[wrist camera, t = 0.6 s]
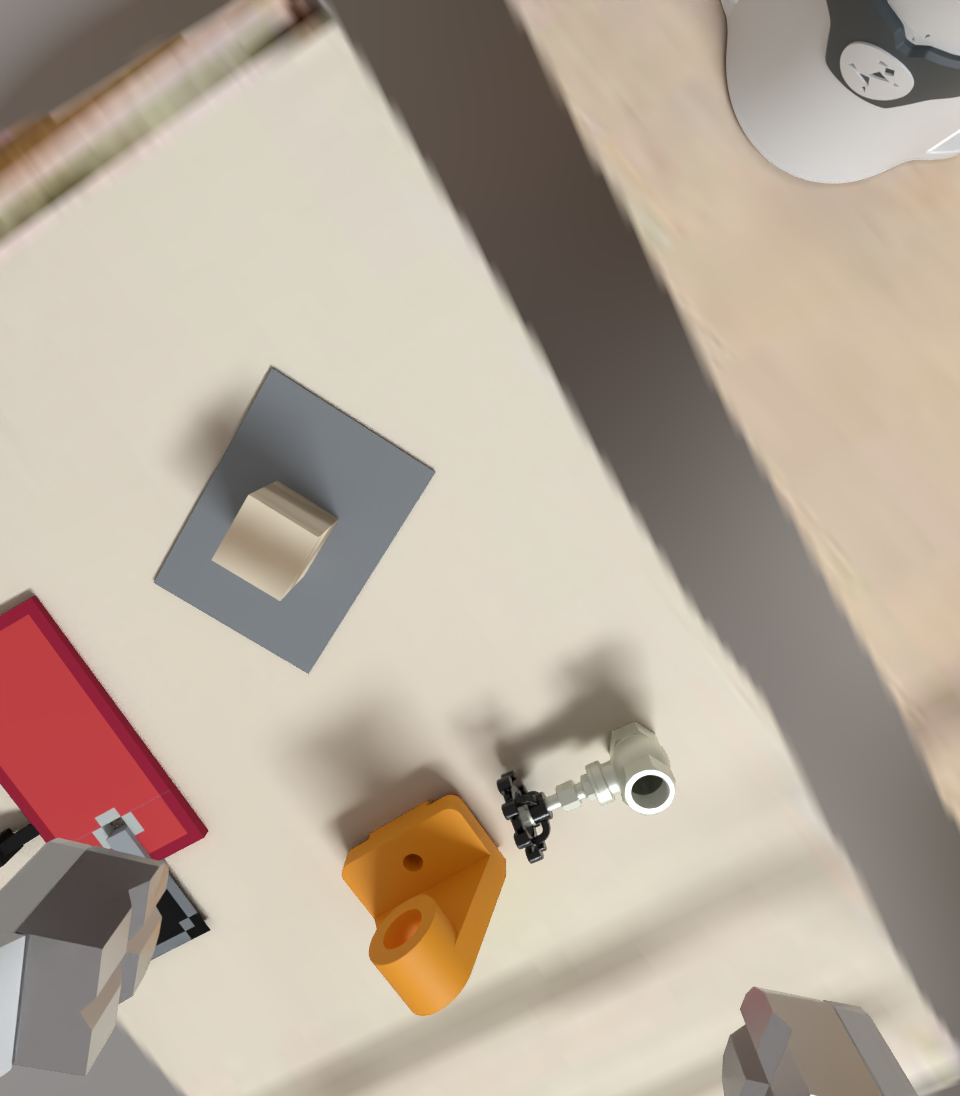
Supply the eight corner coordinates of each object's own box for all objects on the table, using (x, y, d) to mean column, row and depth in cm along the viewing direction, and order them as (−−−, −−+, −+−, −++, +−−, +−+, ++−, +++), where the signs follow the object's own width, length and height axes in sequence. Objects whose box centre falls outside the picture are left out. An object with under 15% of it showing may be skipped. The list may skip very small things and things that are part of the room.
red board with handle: (114, 972, 61) (261, 898, 59) (96, 1000, 58) (250, 922, 56) (-113, 683, 56) (42, 592, 54) (-144, 699, 53) (18, 603, 51)
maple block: (277, 480, 50) (248, 494, 44) (339, 518, 51) (318, 537, 45) (243, 538, 51) (211, 559, 45) (304, 575, 52) (280, 601, 46)
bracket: (455, 784, 56) (444, 892, 44) (505, 852, 57) (508, 975, 46) (343, 848, 57) (304, 968, 46) (395, 913, 59) (369, 1046, 47)
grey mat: (272, 368, 49) (271, 368, 48) (435, 472, 50) (435, 472, 50) (155, 581, 52) (153, 582, 52) (309, 672, 54) (308, 673, 54)
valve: (640, 696, 54) (496, 758, 55) (659, 739, 47) (495, 808, 49) (674, 767, 55) (532, 826, 57) (697, 819, 49) (537, 884, 50)
